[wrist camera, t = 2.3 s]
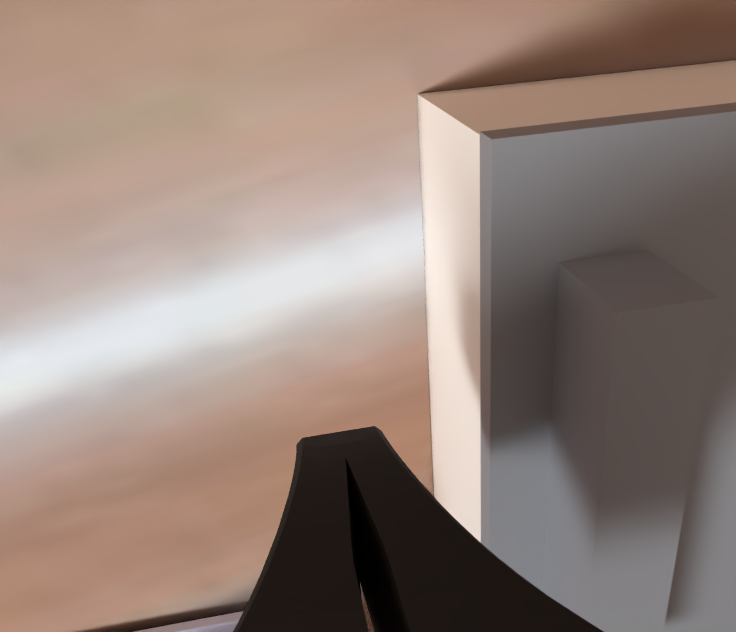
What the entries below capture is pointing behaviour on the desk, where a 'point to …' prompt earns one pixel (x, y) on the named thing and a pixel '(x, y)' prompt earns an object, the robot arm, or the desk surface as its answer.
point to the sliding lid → (613, 364)
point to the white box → (462, 230)
